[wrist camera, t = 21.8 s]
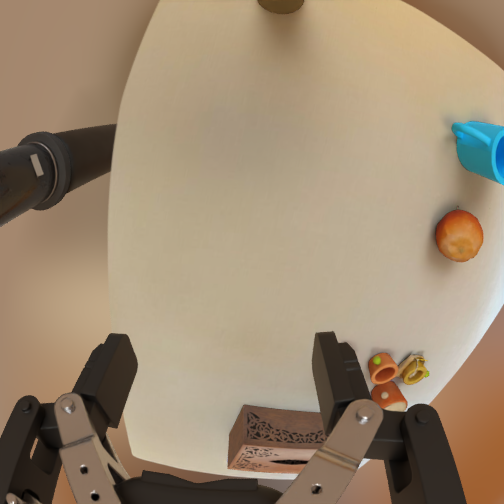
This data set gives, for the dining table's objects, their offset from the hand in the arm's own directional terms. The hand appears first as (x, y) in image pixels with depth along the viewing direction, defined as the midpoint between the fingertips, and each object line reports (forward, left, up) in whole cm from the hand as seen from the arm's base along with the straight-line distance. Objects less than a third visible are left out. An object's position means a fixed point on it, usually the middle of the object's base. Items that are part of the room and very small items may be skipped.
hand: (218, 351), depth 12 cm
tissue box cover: (+8, -55, -28) cm, 62 cm away
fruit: (+32, -6, -28) cm, 43 cm away
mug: (+34, +8, -28) cm, 45 cm away
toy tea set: (+23, -37, -28) cm, 52 cm away
